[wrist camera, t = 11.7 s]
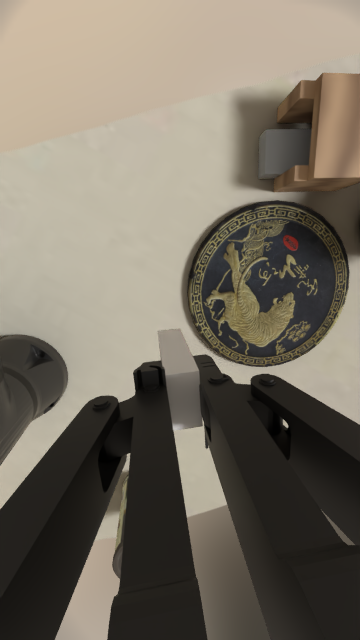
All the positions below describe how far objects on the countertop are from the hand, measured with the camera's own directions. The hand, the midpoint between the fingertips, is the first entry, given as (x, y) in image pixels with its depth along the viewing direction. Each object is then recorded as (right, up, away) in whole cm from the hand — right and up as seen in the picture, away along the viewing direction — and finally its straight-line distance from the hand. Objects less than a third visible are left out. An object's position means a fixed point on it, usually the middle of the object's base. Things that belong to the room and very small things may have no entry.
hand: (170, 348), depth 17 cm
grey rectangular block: (+18, +29, +25) cm, 42 cm away
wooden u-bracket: (+21, +29, +25) cm, 44 cm away
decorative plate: (+17, +8, +30) cm, 35 cm away
